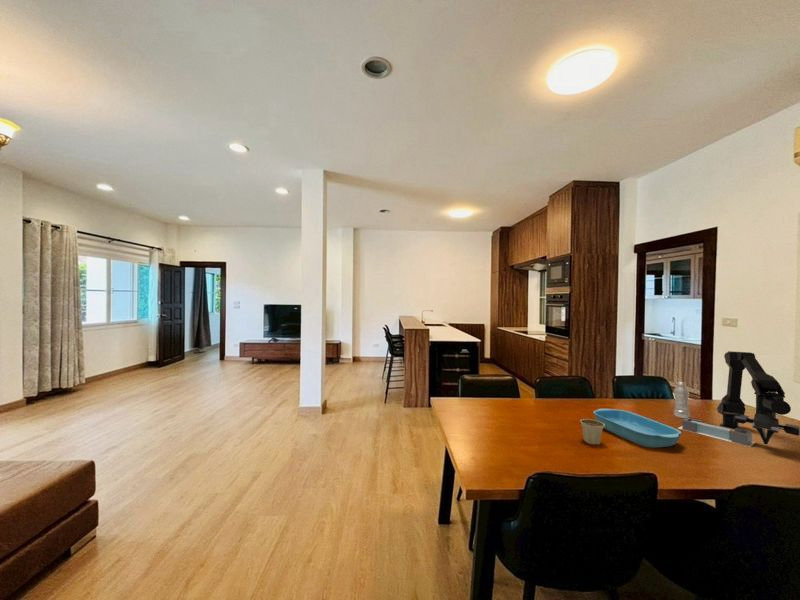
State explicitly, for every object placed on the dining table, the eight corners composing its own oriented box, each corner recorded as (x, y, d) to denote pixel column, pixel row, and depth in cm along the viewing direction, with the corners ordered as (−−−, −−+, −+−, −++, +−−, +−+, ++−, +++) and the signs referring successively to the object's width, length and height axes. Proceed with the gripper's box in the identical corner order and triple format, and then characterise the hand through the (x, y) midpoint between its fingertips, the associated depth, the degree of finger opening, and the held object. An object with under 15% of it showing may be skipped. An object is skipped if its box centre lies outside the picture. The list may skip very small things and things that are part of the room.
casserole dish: (694, 450, 138) (694, 433, 139) (651, 454, 134) (651, 437, 134) (619, 420, 174) (619, 407, 175) (583, 422, 170) (584, 409, 170)
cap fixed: (687, 426, 164) (687, 417, 164) (701, 429, 160) (701, 420, 160) (682, 429, 160) (682, 420, 160) (696, 432, 156) (696, 423, 156)
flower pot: (601, 439, 148) (601, 420, 148) (607, 448, 139) (607, 427, 139) (578, 436, 151) (578, 417, 151) (582, 444, 142) (582, 424, 142)
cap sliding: (748, 445, 141) (747, 435, 142) (731, 441, 146) (731, 431, 146) (751, 441, 146) (751, 431, 146) (735, 437, 150) (735, 428, 150)
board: (683, 426, 166) (683, 424, 166) (755, 444, 146) (755, 442, 146) (677, 429, 161) (677, 428, 161) (750, 448, 141) (750, 446, 141)
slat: (691, 428, 161) (691, 420, 161) (731, 438, 150) (731, 429, 150) (689, 429, 159) (689, 421, 159) (729, 440, 148) (729, 431, 148)
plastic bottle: (692, 420, 175) (692, 383, 175) (678, 419, 176) (678, 382, 177) (684, 417, 181) (684, 381, 182) (671, 416, 183) (671, 380, 183)
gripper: (730, 404, 143) (730, 440, 143) (796, 417, 128) (797, 457, 127) (736, 401, 149) (736, 435, 149) (801, 412, 134) (801, 450, 134)
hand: (765, 444), depth 140 cm, fingers closed
